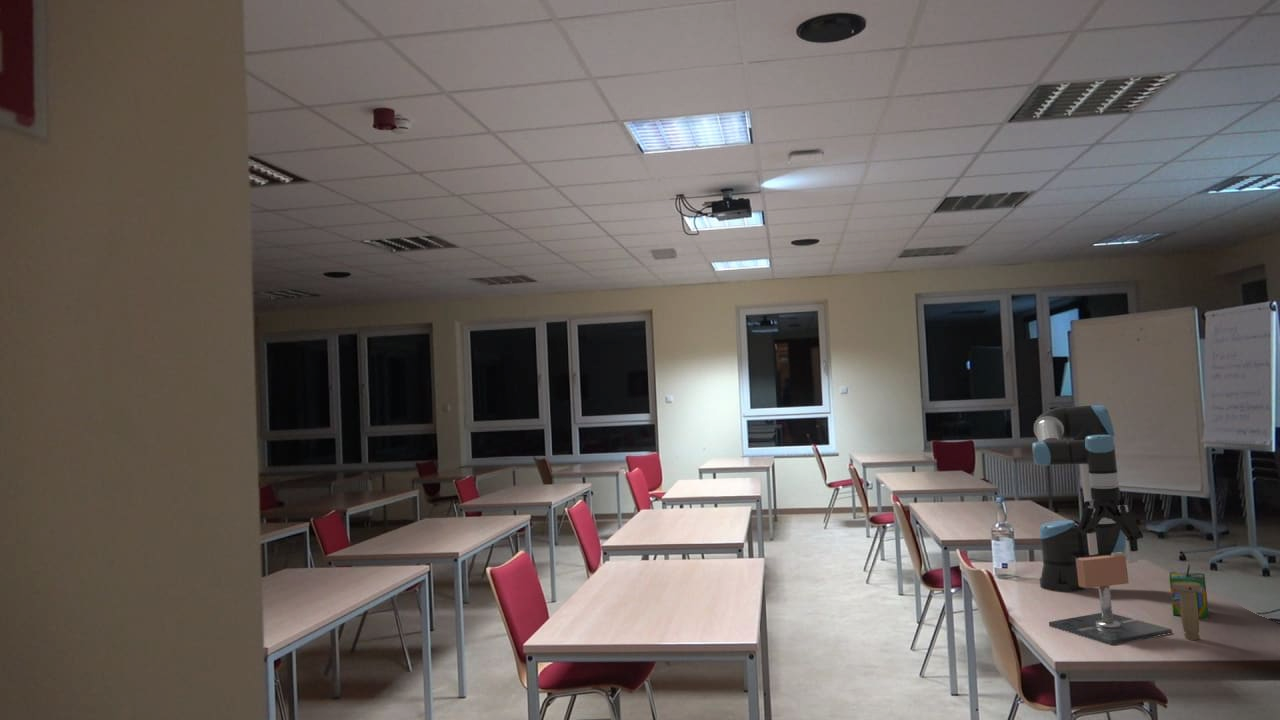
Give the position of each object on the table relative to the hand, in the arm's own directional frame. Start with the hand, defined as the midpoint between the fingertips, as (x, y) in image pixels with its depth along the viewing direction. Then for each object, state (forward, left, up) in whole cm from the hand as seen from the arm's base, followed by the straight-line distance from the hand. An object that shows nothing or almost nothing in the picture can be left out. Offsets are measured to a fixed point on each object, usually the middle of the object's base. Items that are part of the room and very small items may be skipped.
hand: (1112, 558), depth 231 cm
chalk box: (-28, -1, -20) cm, 35 cm away
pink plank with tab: (+5, 0, -7) cm, 9 cm away
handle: (-6, +17, -20) cm, 27 cm away
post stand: (+5, 0, -20) cm, 21 cm away
